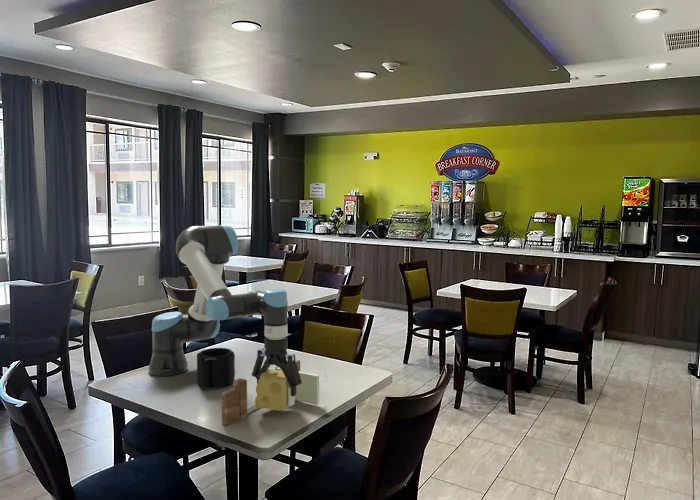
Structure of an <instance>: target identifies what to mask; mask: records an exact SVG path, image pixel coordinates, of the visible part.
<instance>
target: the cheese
mask: <svg viewBox="0 0 700 500" xmlns="http://www.w3.org/2000/svg"><path fill="white" fill-rule="evenodd" d="M288 386H290V385H289V383H288V381H287V378H286V377H285V375H284V373H283V371H280V370H275V369H270V368H268V370H267V371H265V372H263V373H262V374H261V375H260V381H259V383H258V384H257V383H256V387H255V393H257V394H256V396H255V401H254V403H255V404H254V405H256V408H259V409H267V410H268V409H269V410H278V411H285V410H286V409H288V407H289V406H288Z"/></svg>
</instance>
